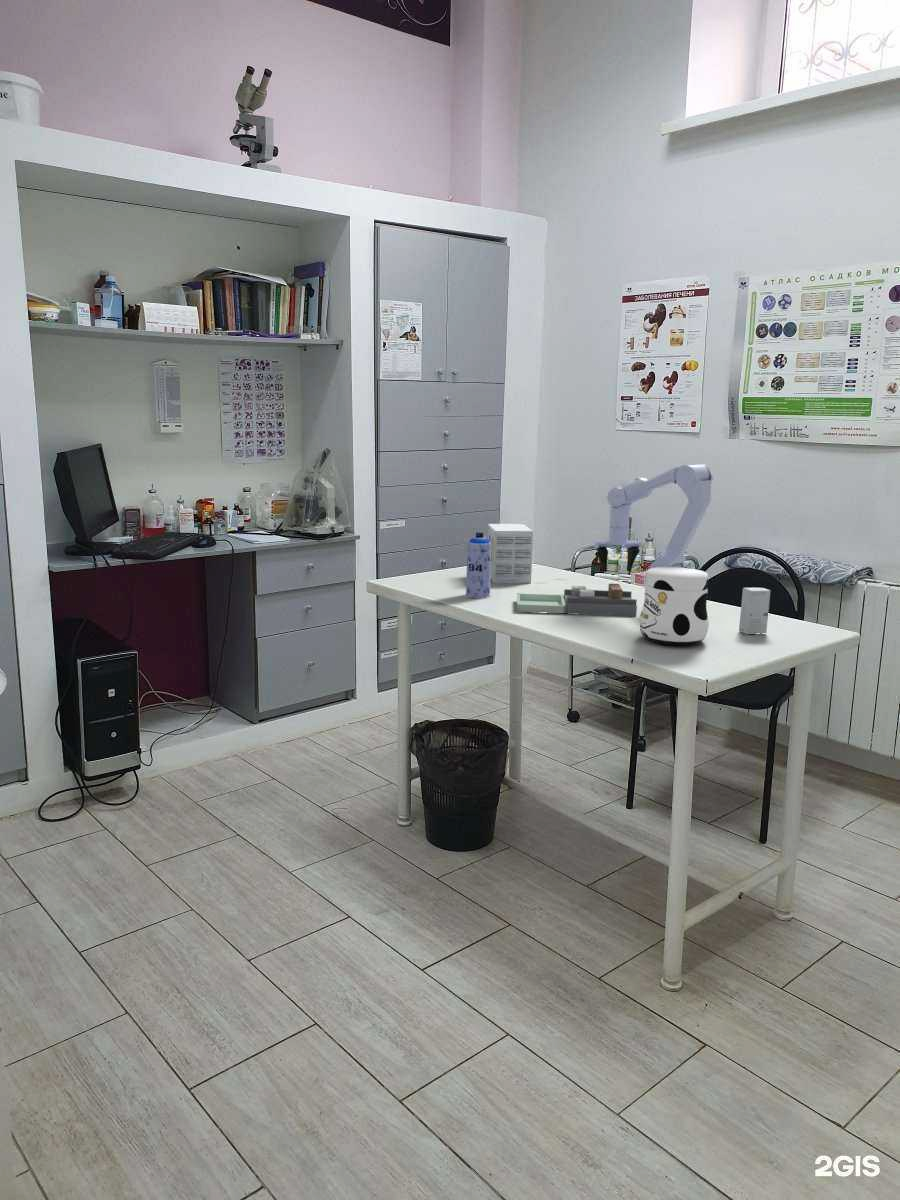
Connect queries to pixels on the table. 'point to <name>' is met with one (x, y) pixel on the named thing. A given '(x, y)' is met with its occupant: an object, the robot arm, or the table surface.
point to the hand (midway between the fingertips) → (616, 571)
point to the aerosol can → (478, 567)
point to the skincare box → (754, 610)
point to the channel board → (601, 604)
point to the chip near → (586, 593)
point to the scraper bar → (614, 591)
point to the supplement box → (510, 553)
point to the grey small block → (576, 590)
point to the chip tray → (541, 603)
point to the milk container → (675, 606)
